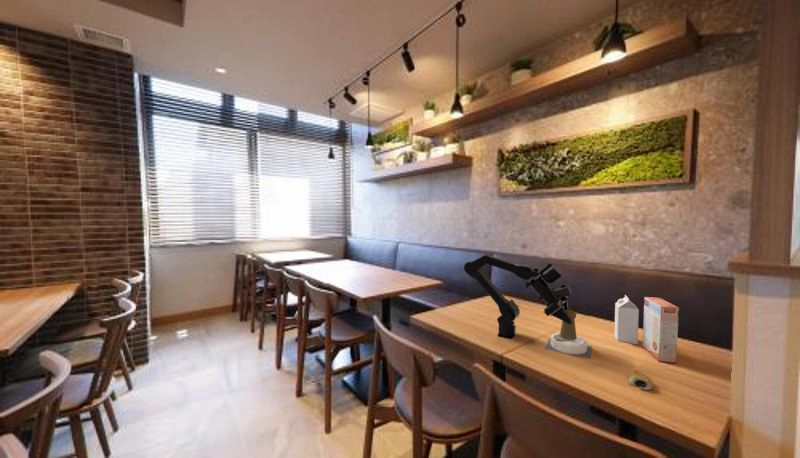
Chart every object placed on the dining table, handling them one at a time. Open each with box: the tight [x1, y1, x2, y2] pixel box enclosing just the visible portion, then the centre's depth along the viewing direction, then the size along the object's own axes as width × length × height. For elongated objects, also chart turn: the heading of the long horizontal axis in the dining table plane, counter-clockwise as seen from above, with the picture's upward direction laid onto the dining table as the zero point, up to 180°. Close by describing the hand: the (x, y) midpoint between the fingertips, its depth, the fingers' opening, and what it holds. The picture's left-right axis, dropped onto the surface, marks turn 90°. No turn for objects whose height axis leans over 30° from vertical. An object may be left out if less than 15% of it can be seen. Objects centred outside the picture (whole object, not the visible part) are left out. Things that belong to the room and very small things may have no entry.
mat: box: [544, 337, 593, 359], centre depth 130 cm, size 16×13×1 cm
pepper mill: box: [559, 308, 577, 340], centre depth 130 cm, size 6×6×11 cm
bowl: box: [550, 332, 589, 356], centre depth 130 cm, size 13×13×3 cm
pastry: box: [626, 370, 654, 391], centre depth 104 cm, size 9×7×4 cm
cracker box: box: [642, 296, 680, 364], centre depth 124 cm, size 14×6×21 cm, turn 163°
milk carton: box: [614, 294, 640, 345], centre depth 138 cm, size 7×7×19 cm
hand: (572, 321), depth 129 cm, fingers closed on pepper mill, 5 cm apart
